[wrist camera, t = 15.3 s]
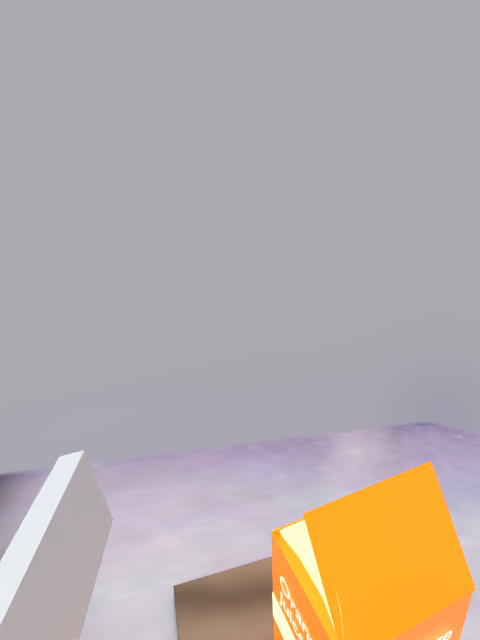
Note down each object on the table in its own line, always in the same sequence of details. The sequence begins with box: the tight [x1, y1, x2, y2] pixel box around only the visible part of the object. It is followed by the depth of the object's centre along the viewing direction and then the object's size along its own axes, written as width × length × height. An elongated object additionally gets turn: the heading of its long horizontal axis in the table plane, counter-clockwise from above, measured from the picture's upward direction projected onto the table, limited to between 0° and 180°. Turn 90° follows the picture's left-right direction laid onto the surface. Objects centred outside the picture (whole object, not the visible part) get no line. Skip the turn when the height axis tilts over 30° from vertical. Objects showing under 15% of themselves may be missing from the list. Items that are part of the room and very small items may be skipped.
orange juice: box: [271, 461, 476, 640], centre depth 24 cm, size 8×9×20 cm
